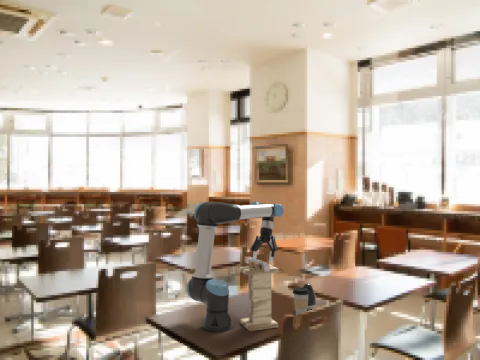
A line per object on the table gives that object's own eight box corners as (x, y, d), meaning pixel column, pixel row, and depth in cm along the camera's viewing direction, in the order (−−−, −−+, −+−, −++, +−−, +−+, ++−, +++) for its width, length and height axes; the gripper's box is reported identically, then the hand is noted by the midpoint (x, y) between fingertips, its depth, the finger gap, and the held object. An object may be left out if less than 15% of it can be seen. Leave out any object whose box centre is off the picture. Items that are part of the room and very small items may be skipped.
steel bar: (270, 271, 205) (270, 265, 205) (264, 271, 204) (264, 265, 204) (249, 261, 231) (249, 256, 231) (244, 262, 230) (244, 256, 230)
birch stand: (280, 327, 211) (279, 263, 211) (247, 331, 204) (247, 265, 205) (268, 318, 224) (268, 258, 224) (238, 322, 218) (238, 260, 218)
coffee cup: (307, 313, 234) (307, 287, 234) (311, 318, 224) (311, 291, 225) (291, 313, 233) (291, 287, 234) (294, 318, 224) (294, 291, 224)
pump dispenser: (303, 312, 235) (303, 286, 235) (296, 307, 245) (296, 282, 245) (319, 311, 238) (319, 285, 238) (311, 306, 248) (311, 281, 248)
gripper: (285, 229, 250) (281, 263, 243) (256, 230, 267) (251, 262, 260) (278, 226, 245) (273, 261, 238) (248, 227, 262) (243, 260, 255)
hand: (262, 262), depth 249 cm, fingers open, 13 cm apart
